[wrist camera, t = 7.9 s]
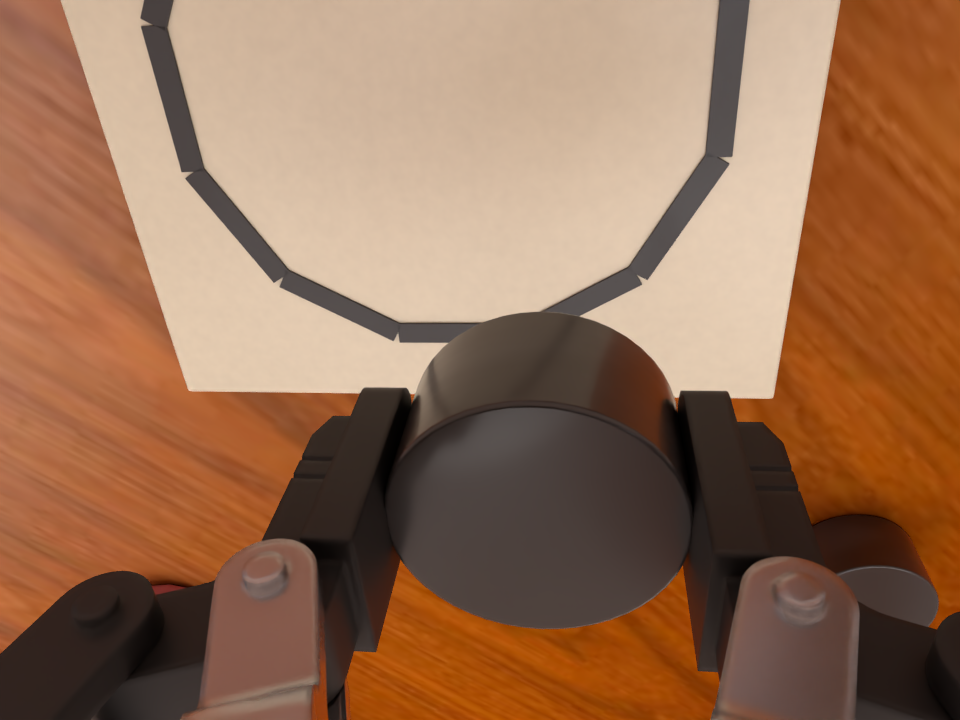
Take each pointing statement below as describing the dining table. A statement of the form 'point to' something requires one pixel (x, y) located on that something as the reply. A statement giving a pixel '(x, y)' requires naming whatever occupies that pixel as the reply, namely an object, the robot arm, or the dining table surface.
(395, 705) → the dining table surface
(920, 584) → the dot right
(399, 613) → the dining table surface
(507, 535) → the dot left
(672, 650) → the dining table surface
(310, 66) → the board
